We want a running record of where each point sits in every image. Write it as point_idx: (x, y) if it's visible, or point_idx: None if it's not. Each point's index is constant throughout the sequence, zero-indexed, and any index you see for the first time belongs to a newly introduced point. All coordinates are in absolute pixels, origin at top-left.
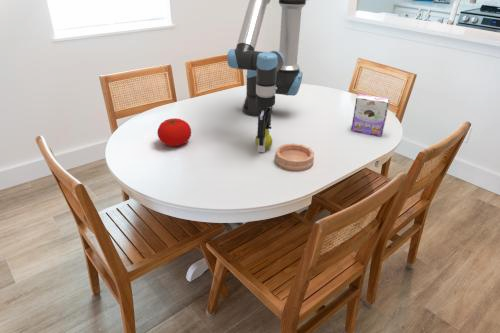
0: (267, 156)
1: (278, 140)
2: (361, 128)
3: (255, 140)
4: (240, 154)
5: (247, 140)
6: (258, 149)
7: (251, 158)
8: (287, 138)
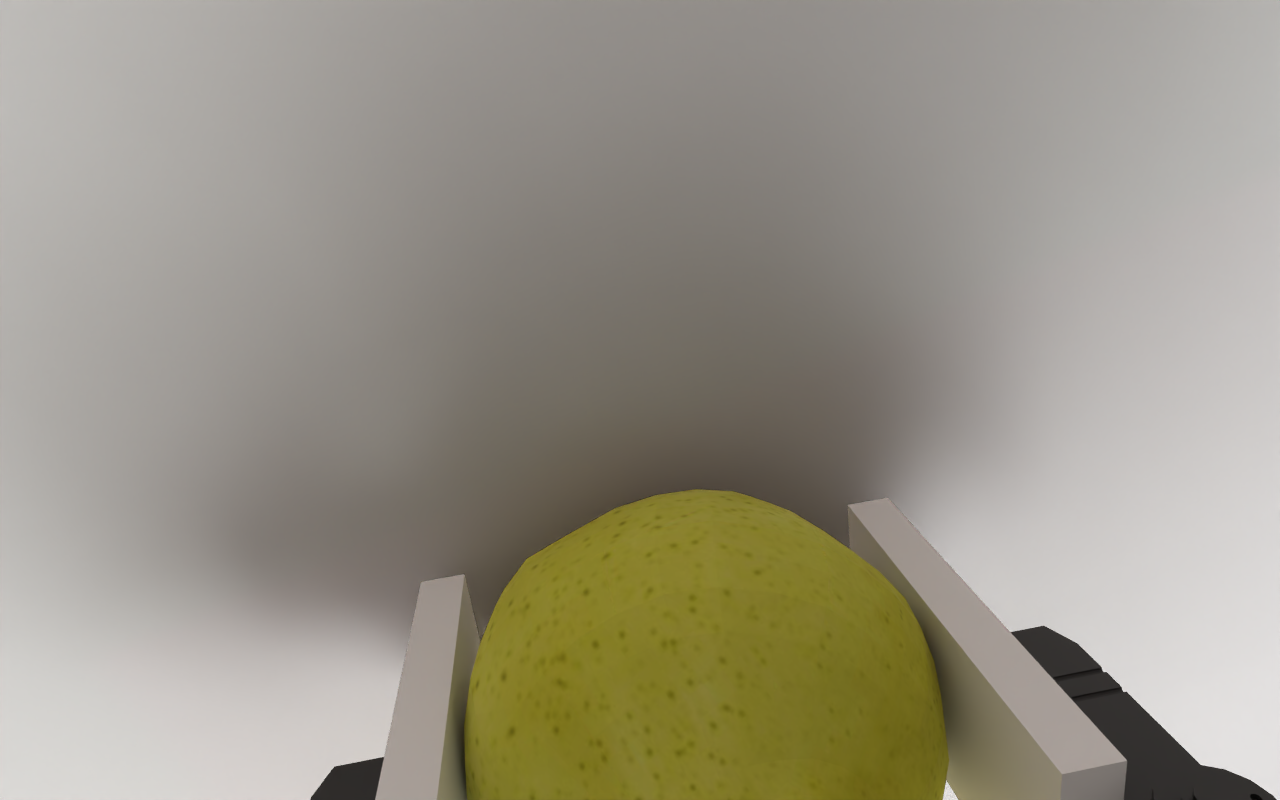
0: None
1: None
2: None
3: (588, 555)
4: (101, 237)
5: (929, 81)
6: (416, 624)
7: (90, 554)
8: None
